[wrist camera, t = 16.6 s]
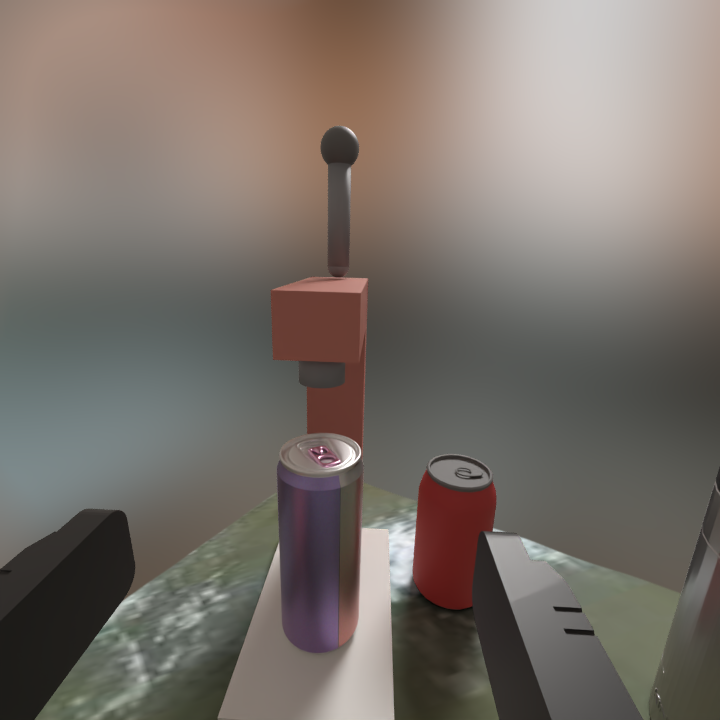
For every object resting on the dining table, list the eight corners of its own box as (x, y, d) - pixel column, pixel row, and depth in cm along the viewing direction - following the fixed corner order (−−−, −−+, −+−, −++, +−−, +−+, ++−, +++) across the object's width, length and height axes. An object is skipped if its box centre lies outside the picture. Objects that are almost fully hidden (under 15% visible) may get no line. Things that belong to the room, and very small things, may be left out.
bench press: (387, 541, 41) (410, 133, 31) (393, 748, 24) (448, -20, 14) (285, 535, 42) (274, 131, 31) (219, 734, 24) (145, -20, 14)
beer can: (487, 621, 33) (505, 497, 29) (409, 606, 34) (418, 485, 31) (480, 563, 39) (494, 455, 36) (414, 551, 40) (422, 447, 37)
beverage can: (298, 676, 27) (295, 484, 23) (272, 608, 31) (265, 441, 28) (372, 636, 29) (380, 460, 25) (337, 580, 34) (339, 425, 30)
